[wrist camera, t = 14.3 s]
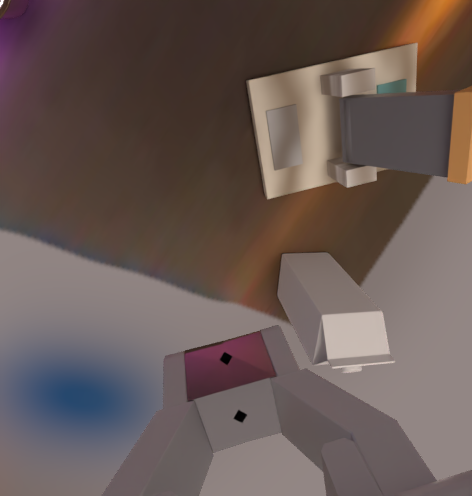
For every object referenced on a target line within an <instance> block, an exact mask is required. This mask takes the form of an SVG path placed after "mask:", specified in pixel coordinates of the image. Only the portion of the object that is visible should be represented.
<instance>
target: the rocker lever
mask: <svg viewBox="0 0 472 496" xmlns="http://www.w3.org/2000/svg"><path fill="white" fill-rule="evenodd" d="M339 103H340V121H341V139H342V157H343V162H345V163H352V164H359V165H366V166H373V167H379V168H386V169H393V170H400V171H407V172H414V173H421V174H427V175H434V176H442V177H448V179H447V181H449V182H455V183H461V184H467V183H469V182H471V181H472V86H471V87H468V88H466V89H463V90H447V91H426V92H404V93H383V94H362V95H349V96H346V97H343V98H340V99H339Z"/></svg>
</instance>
